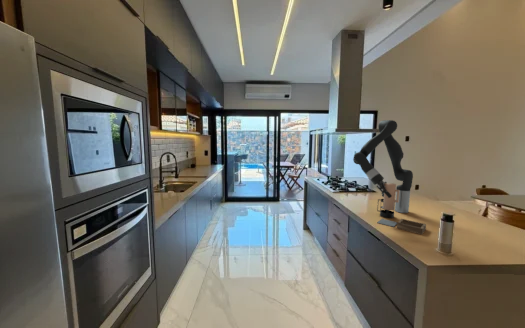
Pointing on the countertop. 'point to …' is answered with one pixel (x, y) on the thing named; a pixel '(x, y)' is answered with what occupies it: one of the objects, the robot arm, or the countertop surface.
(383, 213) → the french press
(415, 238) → the countertop surface
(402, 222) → the wooden tray
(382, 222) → the mat
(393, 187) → the jug
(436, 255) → the countertop surface
